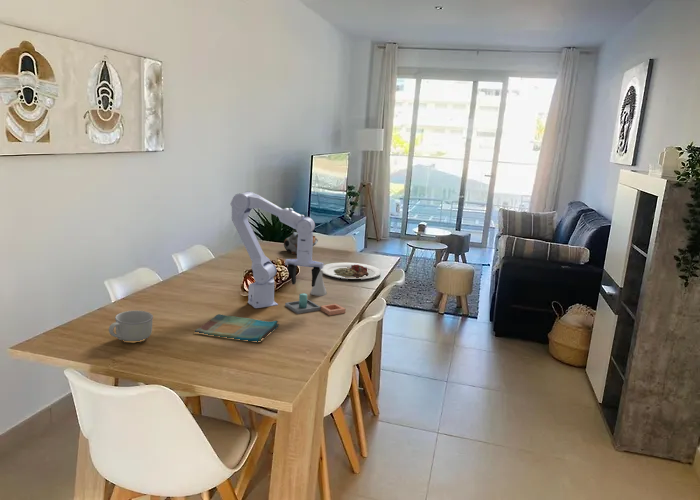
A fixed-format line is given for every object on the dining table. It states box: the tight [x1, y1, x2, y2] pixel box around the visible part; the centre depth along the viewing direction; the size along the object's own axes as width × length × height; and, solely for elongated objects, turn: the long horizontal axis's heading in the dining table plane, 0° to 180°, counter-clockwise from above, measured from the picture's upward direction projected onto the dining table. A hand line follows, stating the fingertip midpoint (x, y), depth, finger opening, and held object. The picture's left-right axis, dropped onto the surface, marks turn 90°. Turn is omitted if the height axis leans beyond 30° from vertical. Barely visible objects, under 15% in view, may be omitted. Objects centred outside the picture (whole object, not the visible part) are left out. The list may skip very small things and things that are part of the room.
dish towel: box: [194, 314, 280, 342], centre depth 174 cm, size 17×23×2 cm
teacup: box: [108, 310, 154, 341], centre depth 159 cm, size 14×11×8 cm
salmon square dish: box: [319, 303, 347, 316], centre depth 196 cm, size 7×7×2 cm
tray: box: [284, 299, 321, 315], centre depth 198 cm, size 10×10×2 cm
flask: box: [310, 270, 328, 297], centre depth 217 cm, size 7×7×10 cm
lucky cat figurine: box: [283, 231, 319, 255], centre depth 289 cm, size 17×14×16 cm
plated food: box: [321, 261, 382, 280], centre depth 253 cm, size 30×30×3 cm
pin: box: [298, 293, 308, 308], centre depth 198 cm, size 3×3×5 cm
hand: (303, 284), depth 197 cm, fingers open, 7 cm apart
